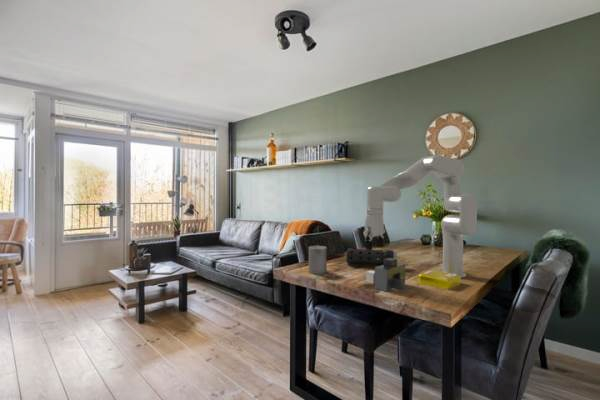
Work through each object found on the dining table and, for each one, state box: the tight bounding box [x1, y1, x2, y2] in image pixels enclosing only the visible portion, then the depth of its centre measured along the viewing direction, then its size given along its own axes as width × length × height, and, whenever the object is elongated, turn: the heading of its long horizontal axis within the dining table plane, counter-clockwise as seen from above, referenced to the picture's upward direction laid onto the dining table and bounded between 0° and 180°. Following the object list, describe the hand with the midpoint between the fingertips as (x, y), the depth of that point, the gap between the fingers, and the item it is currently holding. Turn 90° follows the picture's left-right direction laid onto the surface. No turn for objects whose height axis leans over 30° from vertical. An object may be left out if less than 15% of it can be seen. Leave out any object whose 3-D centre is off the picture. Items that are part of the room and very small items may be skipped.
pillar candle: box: [308, 244, 328, 275], centre depth 166 cm, size 10×10×15 cm
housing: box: [374, 258, 406, 292], centre depth 141 cm, size 16×6×12 cm, turn 134°
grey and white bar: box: [365, 270, 406, 291], centre depth 143 cm, size 4×18×5 cm, turn 44°
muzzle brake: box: [346, 247, 398, 267], centre depth 180 cm, size 10×28×10 cm, turn 73°
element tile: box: [418, 269, 462, 290], centre depth 147 cm, size 15×15×5 cm
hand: (374, 248), depth 147 cm, fingers open, 9 cm apart
